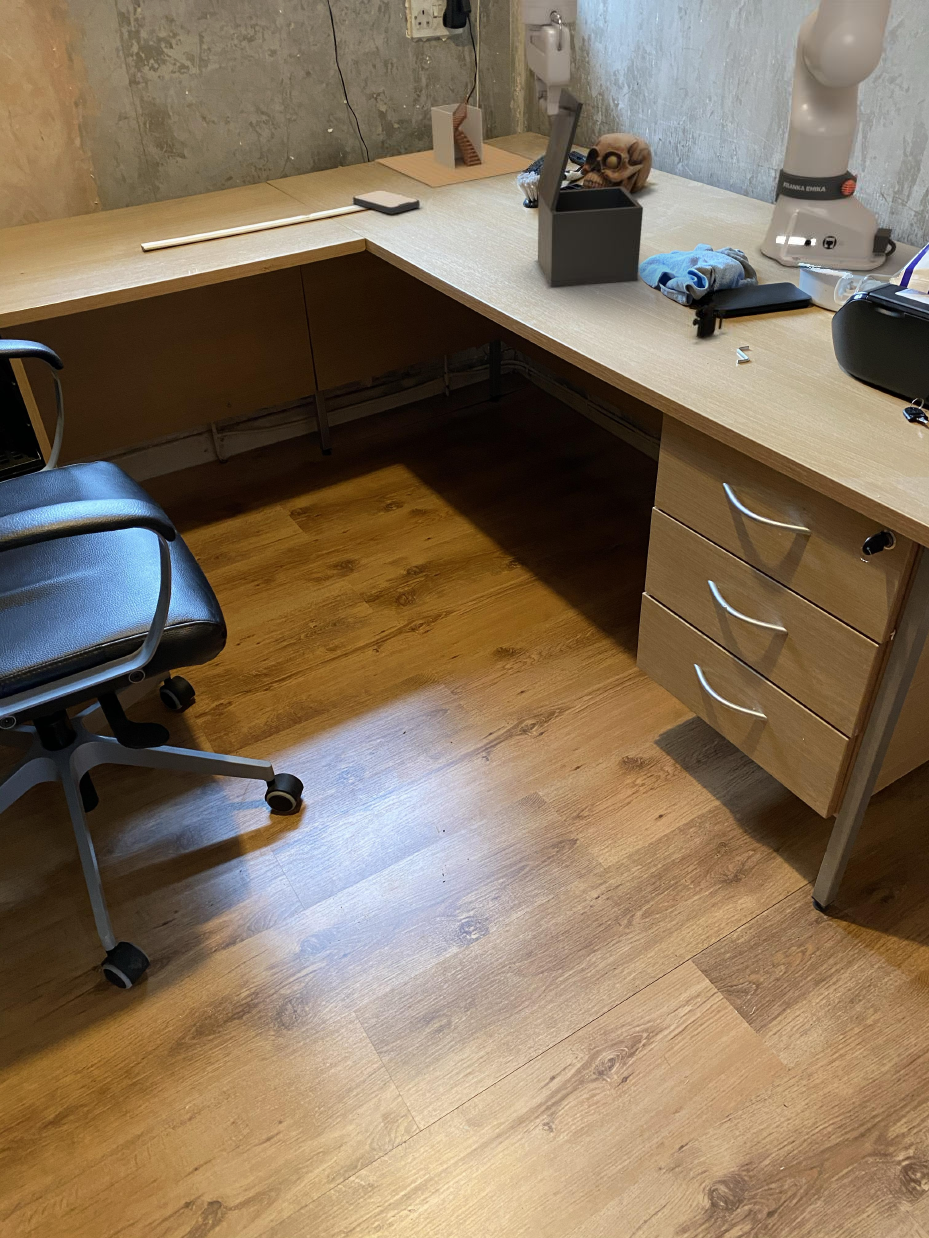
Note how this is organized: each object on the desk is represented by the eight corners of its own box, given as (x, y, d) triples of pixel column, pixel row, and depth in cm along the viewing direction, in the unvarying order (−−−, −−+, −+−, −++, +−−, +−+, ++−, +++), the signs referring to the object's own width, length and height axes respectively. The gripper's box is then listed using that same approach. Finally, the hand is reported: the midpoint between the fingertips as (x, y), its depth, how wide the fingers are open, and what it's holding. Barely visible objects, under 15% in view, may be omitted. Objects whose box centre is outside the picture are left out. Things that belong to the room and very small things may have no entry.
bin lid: (566, 88, 155) (538, 81, 154) (583, 103, 144) (553, 96, 143) (540, 190, 165) (514, 184, 164) (554, 212, 154) (526, 206, 153)
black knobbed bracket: (693, 343, 140) (697, 311, 137) (681, 338, 142) (685, 306, 139) (724, 331, 143) (729, 300, 140) (712, 327, 145) (717, 295, 142)
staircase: (453, 169, 232) (450, 96, 221) (434, 161, 239) (430, 89, 229) (483, 164, 235) (481, 91, 224) (463, 156, 242) (460, 85, 232)
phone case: (351, 204, 211) (391, 216, 201) (350, 197, 210) (390, 208, 200) (381, 196, 215) (422, 207, 205) (381, 189, 214) (422, 200, 204)
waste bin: (618, 255, 174) (623, 186, 166) (637, 280, 163) (643, 207, 155) (537, 261, 173) (538, 192, 166) (551, 287, 162) (552, 214, 155)
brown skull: (575, 203, 202) (580, 136, 195) (582, 192, 216) (587, 128, 209) (645, 207, 200) (653, 139, 192) (648, 195, 214) (655, 131, 206)
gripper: (582, 14, 134) (578, 119, 143) (557, 1, 150) (554, 96, 159) (540, 17, 134) (538, 122, 142) (519, 3, 150) (519, 98, 158)
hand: (547, 108), depth 151 cm, fingers open, 8 cm apart
